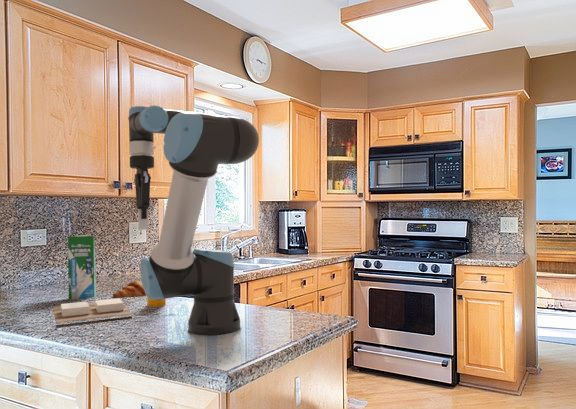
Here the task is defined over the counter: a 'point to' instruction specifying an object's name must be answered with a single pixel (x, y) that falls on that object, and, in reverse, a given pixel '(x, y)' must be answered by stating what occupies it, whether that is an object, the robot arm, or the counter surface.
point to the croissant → (131, 290)
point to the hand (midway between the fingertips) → (143, 229)
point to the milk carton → (81, 267)
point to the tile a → (75, 309)
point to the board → (89, 316)
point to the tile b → (109, 305)
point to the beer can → (155, 302)
